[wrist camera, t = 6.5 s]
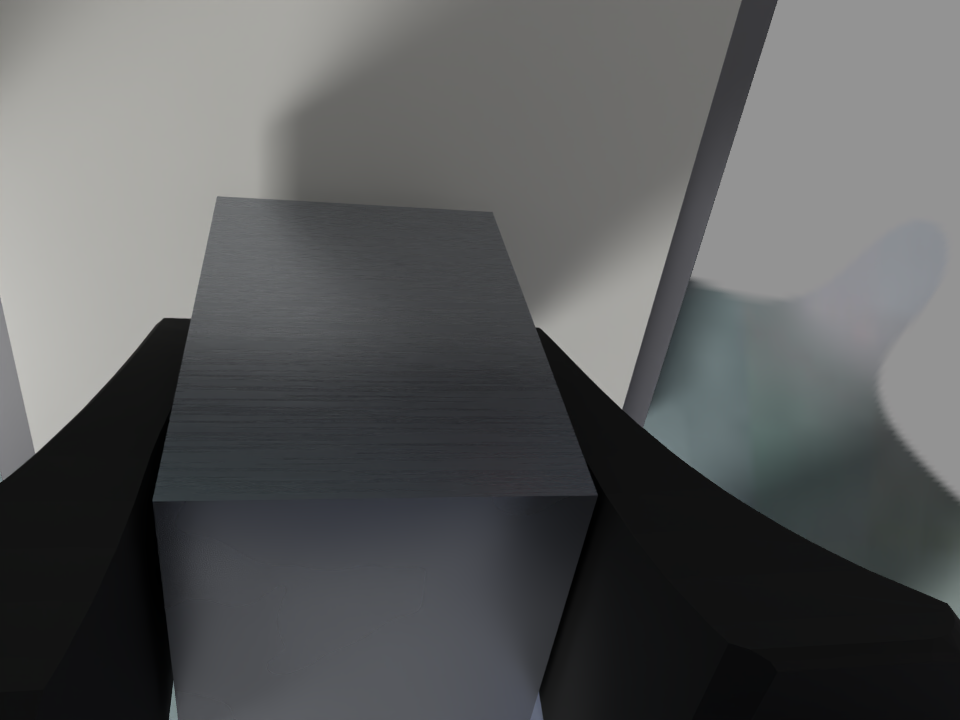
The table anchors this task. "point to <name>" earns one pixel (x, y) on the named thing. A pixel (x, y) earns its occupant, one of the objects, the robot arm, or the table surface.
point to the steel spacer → (364, 472)
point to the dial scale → (355, 160)
